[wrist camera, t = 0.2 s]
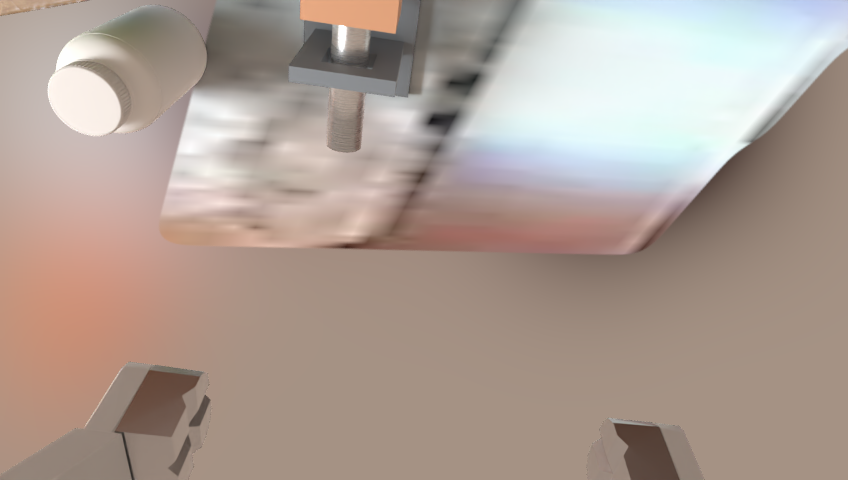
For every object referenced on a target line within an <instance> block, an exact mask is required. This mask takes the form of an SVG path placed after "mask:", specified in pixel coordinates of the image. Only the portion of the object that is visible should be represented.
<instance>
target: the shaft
mask: <svg viewBox="0 0 848 480" xmlns="http://www.w3.org/2000/svg"><path fill="white" fill-rule="evenodd" d="M370 38H371V30H367V29H360V28H354V27H347V26H341V25H334V24H332V44H331V63H332V64H339V65H346V66H353V67H359V68H366V69H368V61H369V50H370ZM365 95H366V93H363V92H356V91H349V90H343V89H336V88H329V102H328V121H327V140H326V144H327V146H328V147H329V148H330V149H332V150H335V151H338V152H355V151H357V150H359V149H360V148H361V140H362V129H363V118H364V106H365Z"/></svg>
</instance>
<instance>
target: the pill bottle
mask: <svg viewBox="0 0 848 480" xmlns="http://www.w3.org/2000/svg"><path fill="white" fill-rule="evenodd" d="M206 64H207V51H206V47H205V43H204V40H203V38H202V36H201V34H200V33H199V31H198V29H197V28H196V27H195V26H194V24H193V23H192V22H191V21H190V20H189V19H188V18H187V17H185V16H184V15H183V14H181V13H179V12H178V11H176V10H174V9H172V8H169V7H165V6H161V5H147V6H142V7H138V8H136V9H134V10H132V11H129V12H127V13H125V14H123V15H121V16H119V17H117V18H115V19H112V20H110V21H108V22H106V23H104V24H102V25H100V26H98V27H96V28H93V29H91V30H89V31H87V32H85V33H83V34H81V35H79V36H77V37H75V38H74V39H72V40H71V41H69V42H68V43H67V44H66V45H65V47H64V48H63V50H62V52H61V53H60V55H59V58H58V61H57V67H56V72H55V73H54V74H53V75H52V76H51V78H50V81H49V84H48V97H49V101H50V104H51V106H52V108H53V110H54V112H55V113H56V114H57V116H58V117H59V118H60V119H61V120H62V121H63V122H64V123H65V124H66V125H68V126H69V127H70V128H72V129H74V130H76V131H77V132H80V133H82V134H86V135H90V136H105V135H108V134H111V133H131V132H136V131H139V130H142V129H144V128H146V127H148V126H149V125H150V124H152V123H153V122H154V121H155V120H156V119H157V118H159V117H160V116H161V115H162V114H163V113H164V112H165V111H166V110H168V109H169V108H170V107H171V106H172V105H173V104H174V103H175V102H176V101H178V100H179V99H180V98H181V97H182V96H183V95H184V94H185V93H187V92H188V91H189V90H190V89H191V88H192V87H193V86H194V85H196V84H197V82H198V81H199V80H200V78H201V77H202V75H203V73H204V71H205V68H206Z"/></svg>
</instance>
